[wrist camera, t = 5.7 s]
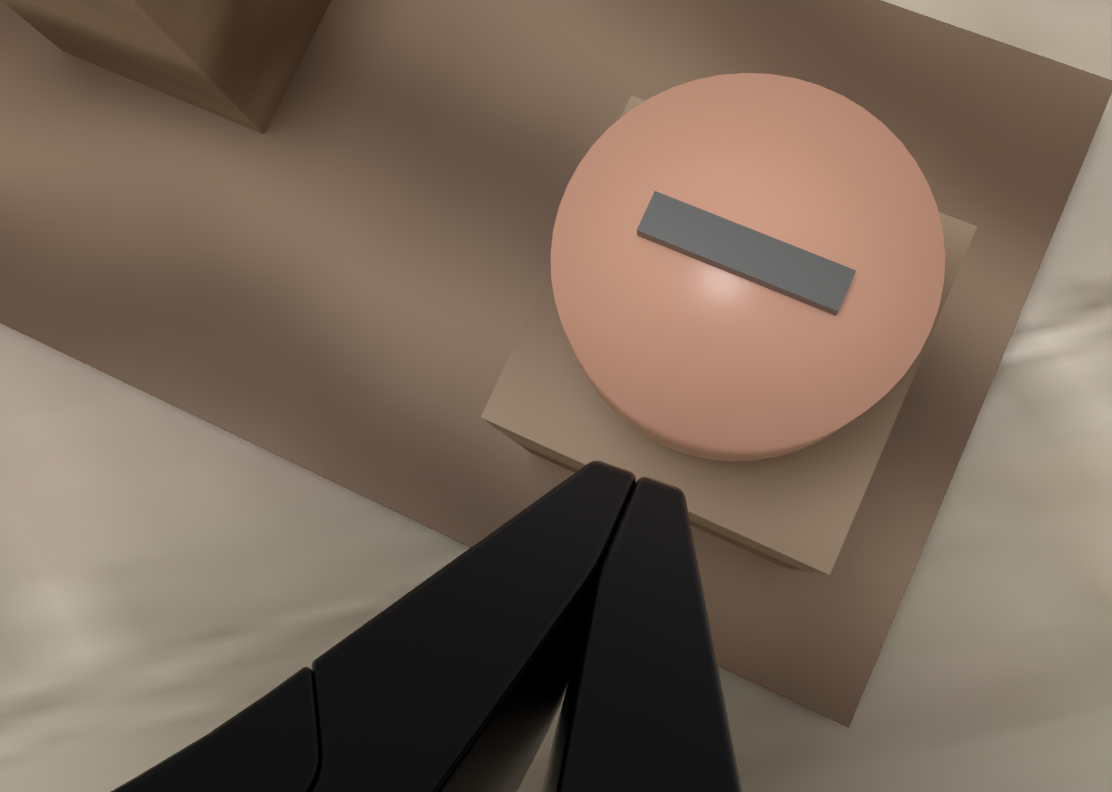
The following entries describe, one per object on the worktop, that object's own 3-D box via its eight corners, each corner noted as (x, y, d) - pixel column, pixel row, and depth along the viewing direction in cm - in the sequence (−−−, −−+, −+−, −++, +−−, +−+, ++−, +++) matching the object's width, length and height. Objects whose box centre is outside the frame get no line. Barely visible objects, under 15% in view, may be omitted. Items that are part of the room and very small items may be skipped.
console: (835, 714, 20) (923, 801, 13) (-95, 271, 24) (-402, 160, 17) (1084, 114, 21) (1284, -94, 14) (164, -211, 25) (-24, -496, 18)
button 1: (828, 519, 12) (857, 513, 10) (510, 378, 13) (485, 350, 11) (963, 203, 12) (1011, 145, 11) (647, 84, 13) (643, 12, 11)
